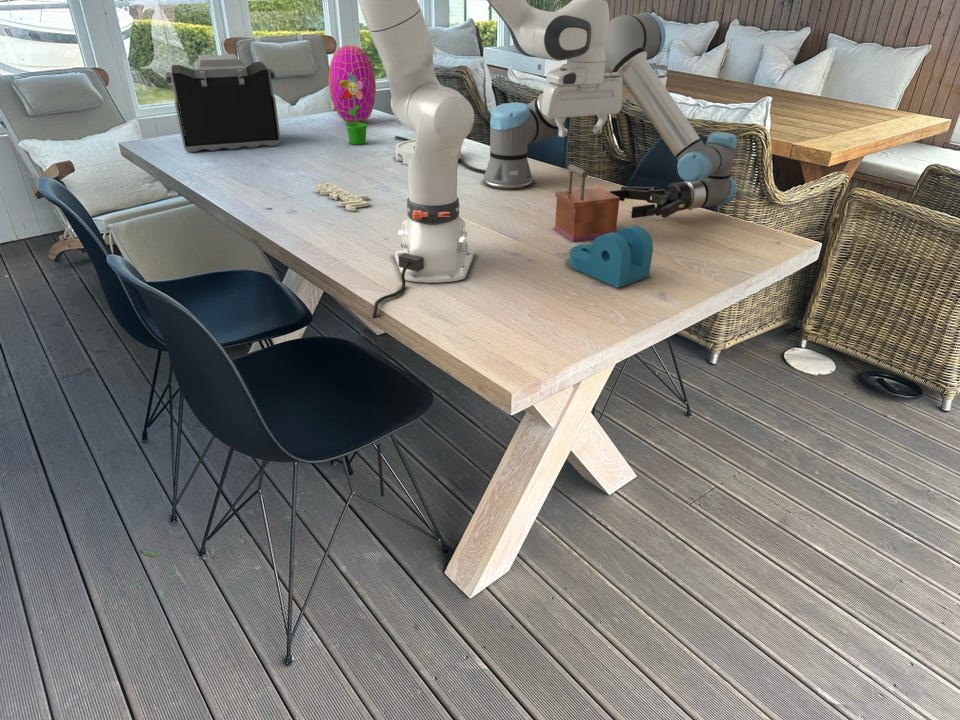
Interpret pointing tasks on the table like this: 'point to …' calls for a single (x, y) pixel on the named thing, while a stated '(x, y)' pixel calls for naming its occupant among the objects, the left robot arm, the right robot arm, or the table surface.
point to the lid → (584, 192)
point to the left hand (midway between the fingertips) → (580, 135)
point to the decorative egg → (361, 68)
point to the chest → (586, 220)
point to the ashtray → (407, 151)
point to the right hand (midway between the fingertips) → (617, 204)
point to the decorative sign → (343, 196)
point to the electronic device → (225, 104)
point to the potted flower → (354, 129)
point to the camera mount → (615, 256)
